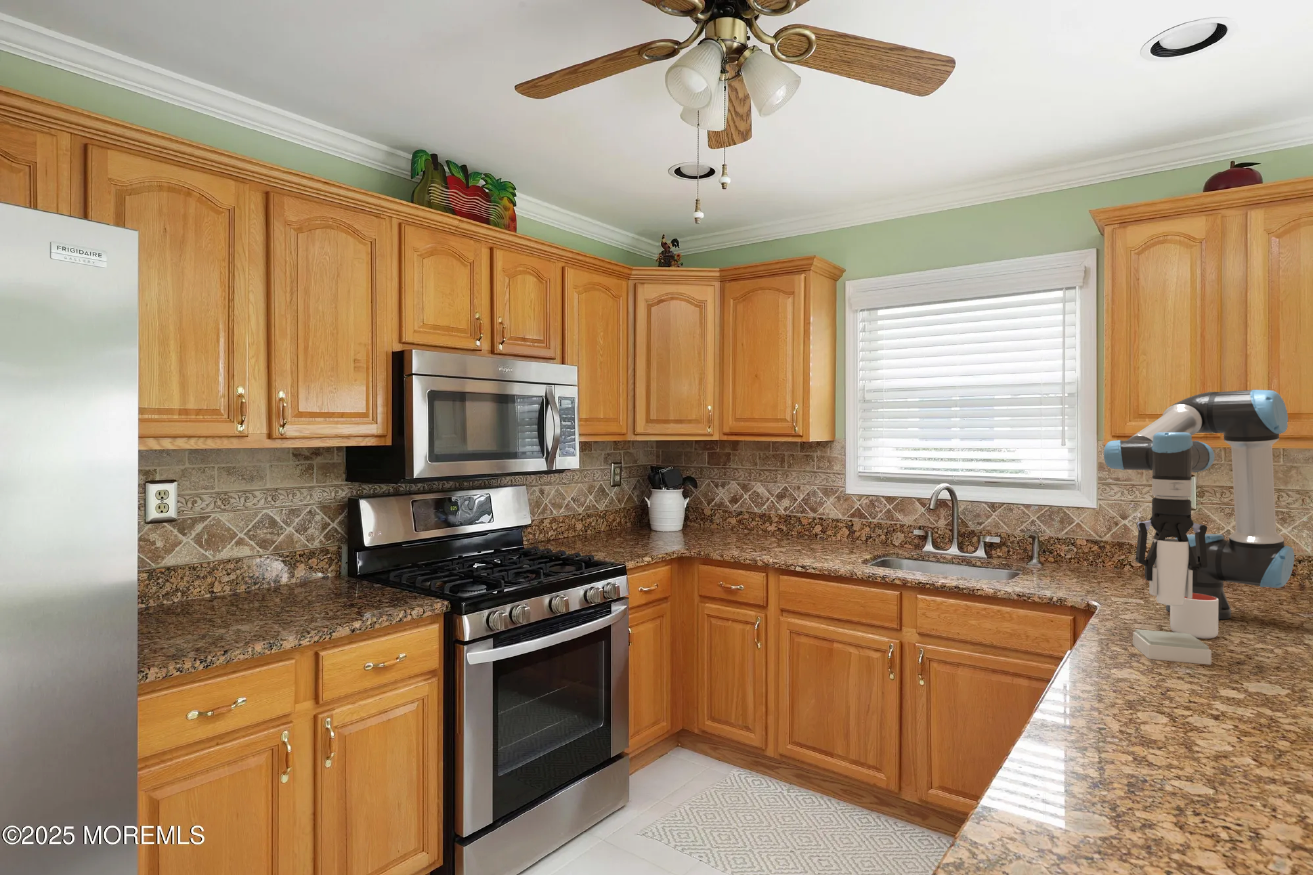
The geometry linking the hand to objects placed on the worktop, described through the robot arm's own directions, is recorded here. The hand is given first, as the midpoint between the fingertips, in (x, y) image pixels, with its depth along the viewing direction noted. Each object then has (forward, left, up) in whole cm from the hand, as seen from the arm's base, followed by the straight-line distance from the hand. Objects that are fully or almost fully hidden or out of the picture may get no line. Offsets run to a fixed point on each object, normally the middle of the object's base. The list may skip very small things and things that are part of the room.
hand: (1170, 595), depth 167 cm
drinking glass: (0, 0, -2) cm, 2 cm away
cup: (-12, -23, -14) cm, 30 cm away
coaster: (0, 0, -14) cm, 14 cm away
